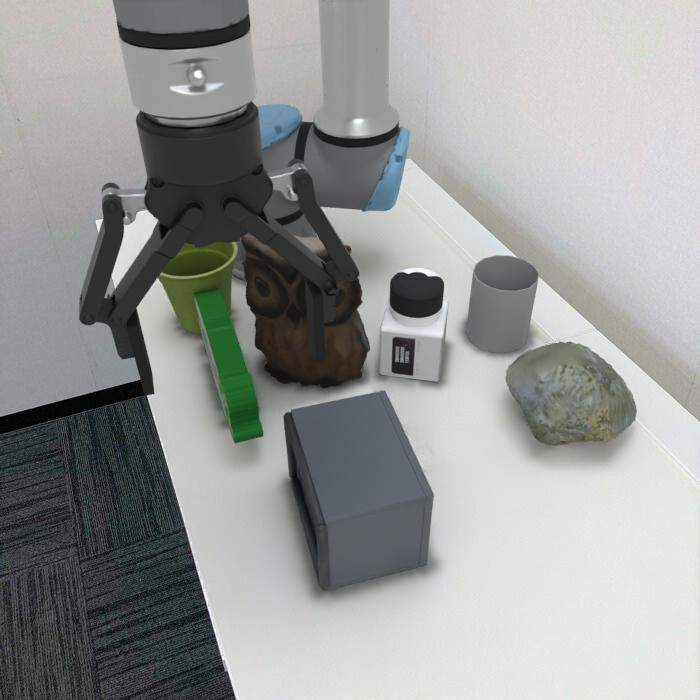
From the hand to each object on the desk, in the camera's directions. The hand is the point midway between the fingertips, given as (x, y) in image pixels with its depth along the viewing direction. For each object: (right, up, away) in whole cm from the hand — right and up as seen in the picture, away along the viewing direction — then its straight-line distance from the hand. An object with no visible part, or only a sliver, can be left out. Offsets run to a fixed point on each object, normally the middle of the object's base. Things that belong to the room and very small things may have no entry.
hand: (234, 368), depth 57 cm
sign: (-6, -3, +33) cm, 34 cm away
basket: (+10, -16, +17) cm, 26 cm away
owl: (+5, 0, +37) cm, 37 cm away
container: (+17, 0, +36) cm, 40 cm away
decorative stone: (+35, -7, +28) cm, 45 cm away
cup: (+29, +4, +41) cm, 50 cm away
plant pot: (-11, +6, +44) cm, 45 cm away
